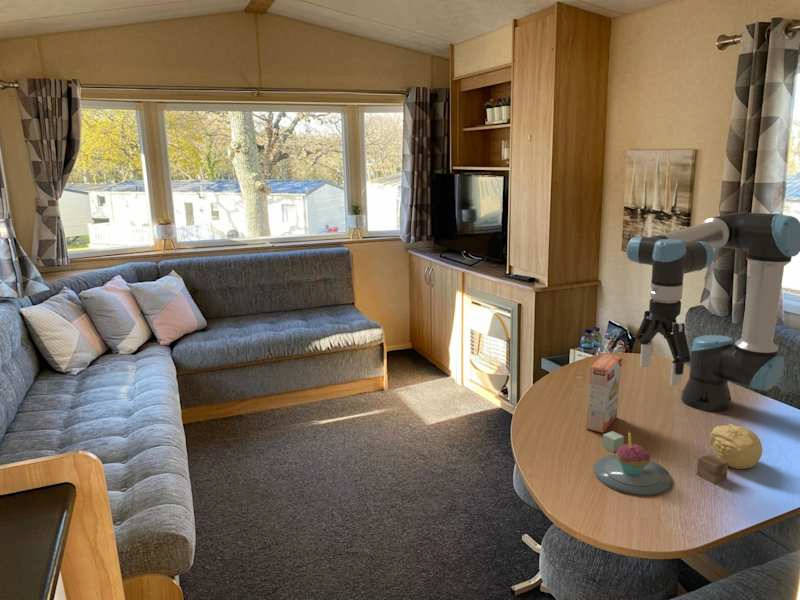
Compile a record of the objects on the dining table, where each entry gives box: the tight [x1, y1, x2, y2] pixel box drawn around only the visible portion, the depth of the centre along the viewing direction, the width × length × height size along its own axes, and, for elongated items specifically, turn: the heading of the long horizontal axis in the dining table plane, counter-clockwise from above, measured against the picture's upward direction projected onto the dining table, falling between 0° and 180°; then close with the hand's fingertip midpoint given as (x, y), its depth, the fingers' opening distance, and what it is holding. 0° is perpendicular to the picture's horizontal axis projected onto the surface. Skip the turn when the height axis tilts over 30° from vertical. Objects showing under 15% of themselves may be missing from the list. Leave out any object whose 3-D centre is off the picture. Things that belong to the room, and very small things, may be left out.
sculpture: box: [709, 423, 763, 470], centre depth 163 cm, size 12×12×11 cm
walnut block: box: [696, 453, 729, 484], centre depth 157 cm, size 5×5×5 cm
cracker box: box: [585, 353, 623, 434], centre depth 186 cm, size 14×6×21 cm, turn 144°
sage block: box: [601, 431, 625, 453], centre depth 173 cm, size 4×4×4 cm
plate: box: [593, 454, 672, 497], centre depth 159 cm, size 19×19×1 cm
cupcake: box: [615, 430, 651, 475], centre depth 157 cm, size 9×8×12 cm
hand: (659, 375), depth 161 cm, fingers open, 13 cm apart
